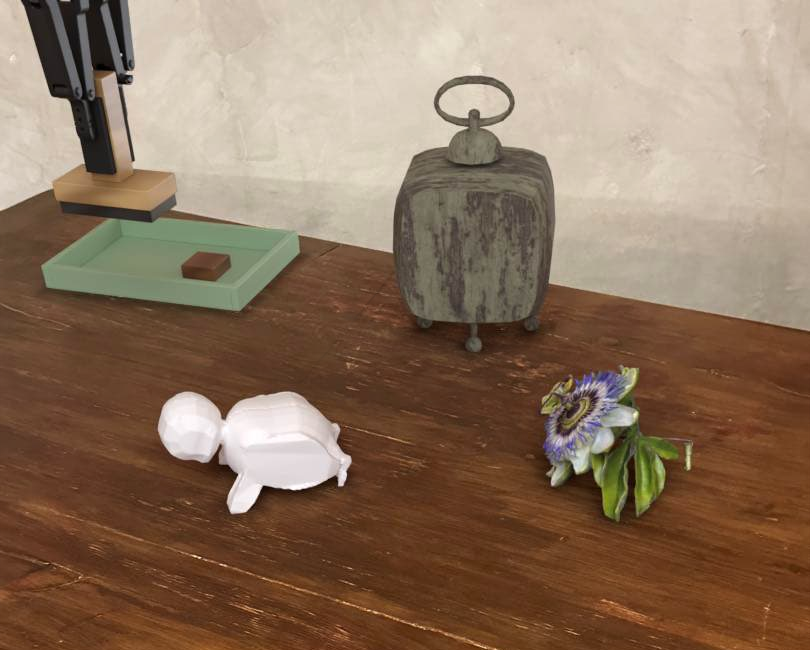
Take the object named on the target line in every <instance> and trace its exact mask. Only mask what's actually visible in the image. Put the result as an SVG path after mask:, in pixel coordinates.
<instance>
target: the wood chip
mask: <svg viewBox="0 0 810 650" xmlns="http://www.w3.org/2000/svg"><path fill="white" fill-rule="evenodd" d="M230 268H231V261H230V255H228V254H219V253H209V252H200V251H198V252H196V253H195V254H194V255H193V256H192V257H190V258H189V259H188V260H187V261H186V262H184V263H183V264H182V265H181V270H182V275H183V278H188V279H197V280H205V281H214V282H215V281H216V280H217V279H219V278H220V277H221V276H222V275H223V274H224V273H225V272H226V271H227V270H229V269H230Z"/></svg>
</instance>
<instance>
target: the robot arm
mask: <svg viewBox="0 0 810 650" xmlns="http://www.w3.org/2000/svg"><path fill="white" fill-rule="evenodd" d="M20 2H21V4H22V6H23V8H24V11H25V14H26V18H27V21H28V24H29V27H30V31H31V35H32V38H33V42H34V44H35V48H36V51H37V55H38V59H39V61H40V66H41V68H42V71H43V72H42V73H43V75H44V79H45V82H46V85H47V89H48V92H49V94H50V96H51V97H52V98H56V99H57V98H58V99H62V100H67V101H68V102H69V104H70V109H71V113H72V119H73V122H74V126H75V132H76V135H77V137H78V139H79V142H80V147H81V153H82V156H83V162H84V164H85V167H86V171H87V172H88V173H98V174H108V175H113V174H115V173H116V172H117V171H116V166H115V160H114V155H113V150H112V145H111V140H110V135H109V129H108V124H107V119H106V114H105V109H104V104H103V99H102V97H95V87H94V79H93V71H92V70H101V71H115V73H116V78H117V84H118V89H119V94H120V100H121V105H122V111H123V116H124V121H125V127H126V132H127V138H128V143H129V149H130V154H131V159H132V163H133V162H136V157H135V152H134V148H133V147H134V146H133V142H132V137H131V131H130V125H129V119H128V108H127V102H126V97H125V91H124V86H131V85H132V84H133V82H134V75H133V74H127V73H128V72H133V71H134V70H135V67H136V61H135V52H134V44H133V43H134V42H133V34H132V25H131V18H130V16H131V15H130V6H129V0H20ZM123 85H124V86H123Z"/></svg>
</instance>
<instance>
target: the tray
mask: <svg viewBox="0 0 810 650" xmlns="http://www.w3.org/2000/svg"><path fill="white" fill-rule="evenodd" d="M300 250H301V249H300V239H299V232H298V230H291V229H283V228H271V227H262V226H261V227H260V226H251V225H241V224H230V223H221V222H211V221H202V220H201V221H200V220H189V219H181V218H180V219H179V218H170V217H162V216H161V217H159V218H158V219H157V220H155V221H154V222H153V223H148V222H139V221H130V220H121V219H113V218H106V219H105V220H104V221H102V222H101V223H99V224H98V225H97V226H95V227H94V228H93V229H91V230H90V231H88V232H87V233H86V234H84V235H83V236H82V237H80V238H78V239H77V240H75V241H74V242H72V243H71V244H70V245H68V246H67V247H66V248H63V250H61V251H60V252H58V253H57V254H55V255H54V256H53V257H51V258H50V259H49V260H47V261H45V262H44V263H43V264H41V265H40V266H41V271H42V274H43V278H44V283H45V287H46V288H49V289H56V290H64V291H72V292H81V293H89V294H96V295H97V294H98V295H103V296H104V295H105V296H113V297H121V298H129V299H136V300H137V299H138V300H146V301H154V302H162V303H171V304H178V305H186V306H195V307H203V308H211V309H218V310H225V311H226V310H227V311H234V312H235V311H236V312H240V311H241V310H242V309H244V308H245V307H246V305H248V304H249V303H250V302H251V301H252V300H253V299H254V298H255V297H256V296H257V295H258V294H259V293H260V292H261V291H262V290H263V289H264V288H265V287H266V286H267V285H268V284H269V283H270V282H271V281H272V280H273V279H275V278H276V276H278V274H279V273H281V272H282V270H284V269H285V267H286V266H287V265H289V264H290V263H291V262H292V261H293V260H294V259H295V258H296V257H297V256H298V255H299V254H300V253H301V251H300ZM198 251H200V252H209V253H219V254H228V255H230V261H231V268H230V269H229V270H227V271H226V272H225V273H224V274H223V275H222V276H221V277H220V278H219V279H217V280H216V281H215V282H214V281H205V280H197V279H188V278H183V275H182V270H181V265H182V264H183V263H184V262H186V261H187V260H188V259H189V258H190V257H192V256H193V255H194V254H195V253H196V252H198Z"/></svg>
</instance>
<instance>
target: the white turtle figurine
mask: <svg viewBox="0 0 810 650" xmlns="http://www.w3.org/2000/svg"><path fill="white" fill-rule="evenodd" d="M221 413H222V412H221V411H220V409H219V408H218V406H216V405H215V404H214V402H212V401H211V400H210V399H209V398H207V397H206V396H204V395H203V394H200V393H197V392H195V391H184V392H179V393H176V394H175V395H174V396H173V397H170V398H169V399H167V400H166V402H165V403H164V404H163V406H162V409H161V413H160V415H159V420H158V423H157V431H158V435H159V438H160V441H161V443H162V444H163V446H164V447H165V449H166V450H167V451H168V452H169V454H170V455H171V456H173V457H175V458H177V459H179V460H183V461H198V462H200V463H202V464H204V463H210V461H211V460H212V458H213V457H214V455H215V454H216V453H217V451H218V449H219V446H220V445H221V448H220V449H219V452H218V464H219V465H223V466H224V465H225V466H227V465H228V466H229V468H230V469H231V470H232V471H233V472H234V473H235V474H238V475H237V476H236V479H235V481H234V483H233V485H232V487H231V489H230V491H229V493H228V494H227V499H226V505H227V507H228V510H229V512H230V514H232V515H235V514H244V513H246V512H248V510H250V509H251V507H252V506H253V505H254V504H255V503H256V502H257V499H258V497H259V495H260V494H261V490H262V489H263V486H266V487H271V488H275V489H282V490H292V491H297V490H298V491H301V490H302V489H303V490H304V489H308V488H313V487H315V486H317V485H320V484H321V483H324V482H326V481H328V479H331V478H333V477H335V476H336V477H337V487H343V486H344V485H345V483H346V480H347V475H348V473H347V471H348V469H349V468H350V467H351V465H352V457H351V455H350V454H349V455H348V454H346V453H344V452H343V450H342V449H341V447H340V446H339V444H338V442H337V441H338V438H339V435H340V432H341V428H340V426H339V425H338V423H336V422H335V423H334V422H333V423H332V422H331V421H330V420H329V419H327V418H326V417H325V416H324V414H323V413H322V412H320V410H318V408H316V407H315V406H314V405H312V404H311V403H310V402H309V401H308V400H307V399H306V398H305V397H304V396H303V395H301V394H299V393H297V392H293V391H281V392H280V391H279V392H276V393H271V394H267V395H266V394H259V395H256V396H254V397H248V398H244V399H241V400H239V401H238V402H236V403H235V404H234V405H233V406H232V408H231V409H230V410H229V411H228V413H227V415H226V417H225V419H222V415H221Z"/></svg>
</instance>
